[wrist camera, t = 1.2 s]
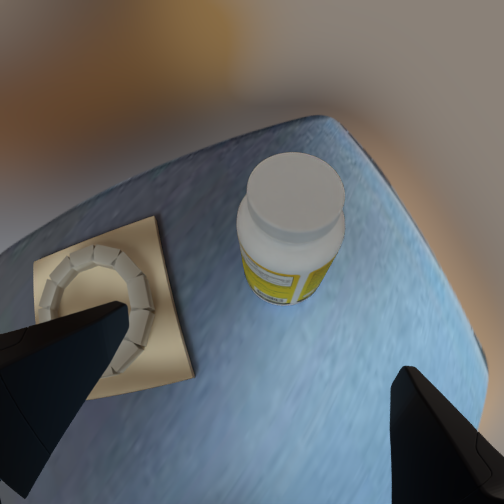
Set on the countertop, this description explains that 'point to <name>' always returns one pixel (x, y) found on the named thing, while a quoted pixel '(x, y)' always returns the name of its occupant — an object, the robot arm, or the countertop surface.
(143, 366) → the collar board
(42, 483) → the countertop surface
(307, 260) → the pill bottle
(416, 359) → the countertop surface
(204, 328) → the countertop surface
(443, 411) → the robot arm
